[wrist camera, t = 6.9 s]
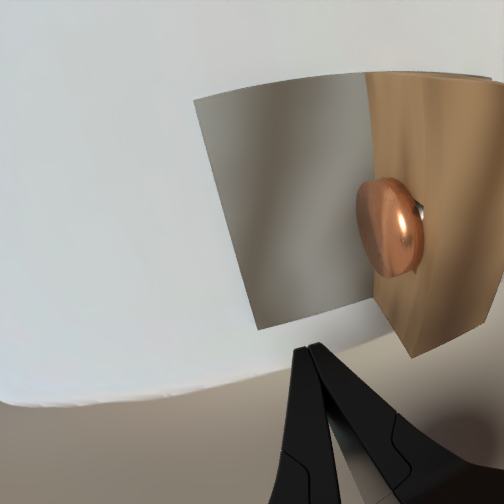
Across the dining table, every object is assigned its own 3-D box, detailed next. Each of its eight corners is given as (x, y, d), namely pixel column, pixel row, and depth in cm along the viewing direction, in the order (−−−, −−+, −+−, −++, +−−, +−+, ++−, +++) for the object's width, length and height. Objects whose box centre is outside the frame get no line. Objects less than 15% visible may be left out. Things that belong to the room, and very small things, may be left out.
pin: (485, 148, 14) (538, 174, 10) (479, 211, 17) (523, 244, 13) (353, 168, 14) (404, 206, 10) (357, 246, 16) (396, 298, 13)
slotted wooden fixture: (487, 77, 12) (560, 96, 7) (472, 256, 20) (518, 301, 15) (193, 100, 12) (184, 112, 7) (256, 325, 20) (274, 404, 15)
